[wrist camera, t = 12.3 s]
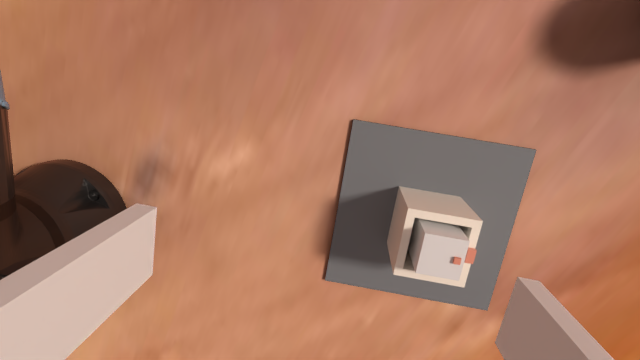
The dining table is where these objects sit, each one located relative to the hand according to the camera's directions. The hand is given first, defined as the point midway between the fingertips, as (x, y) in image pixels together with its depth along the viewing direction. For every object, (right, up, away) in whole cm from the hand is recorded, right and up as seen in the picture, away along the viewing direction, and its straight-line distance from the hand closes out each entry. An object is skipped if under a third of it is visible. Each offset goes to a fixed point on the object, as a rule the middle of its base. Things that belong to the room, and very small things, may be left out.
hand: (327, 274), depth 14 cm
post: (+12, -1, +31) cm, 33 cm away
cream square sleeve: (+12, -1, +31) cm, 33 cm away
